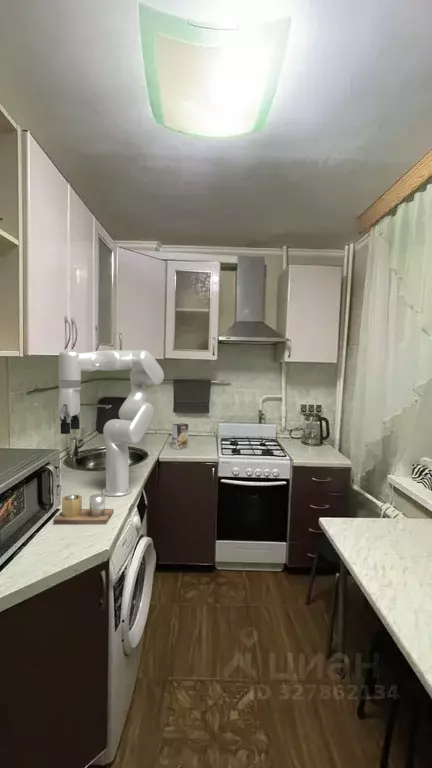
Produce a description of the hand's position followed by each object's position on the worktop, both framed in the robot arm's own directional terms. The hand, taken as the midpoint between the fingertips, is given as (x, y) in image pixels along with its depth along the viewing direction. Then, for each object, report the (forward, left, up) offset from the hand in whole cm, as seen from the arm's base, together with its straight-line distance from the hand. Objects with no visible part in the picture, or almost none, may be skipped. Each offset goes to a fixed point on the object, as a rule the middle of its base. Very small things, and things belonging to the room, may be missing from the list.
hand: (70, 431), depth 137 cm
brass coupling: (+6, +2, -29) cm, 29 cm away
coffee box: (-110, +33, -31) cm, 119 cm away
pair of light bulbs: (+6, +8, -29) cm, 30 cm away
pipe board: (+6, +7, -30) cm, 32 cm away
